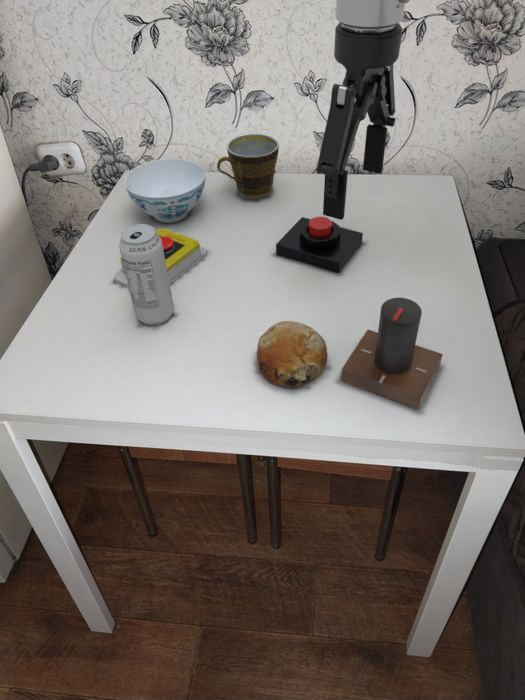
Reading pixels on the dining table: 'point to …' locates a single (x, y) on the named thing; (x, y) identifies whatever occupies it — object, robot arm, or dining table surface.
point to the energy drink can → (146, 274)
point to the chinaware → (166, 187)
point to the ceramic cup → (252, 164)
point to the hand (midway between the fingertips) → (353, 192)
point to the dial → (397, 335)
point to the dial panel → (392, 386)
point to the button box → (319, 246)
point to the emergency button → (173, 255)
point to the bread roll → (291, 354)
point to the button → (320, 227)
